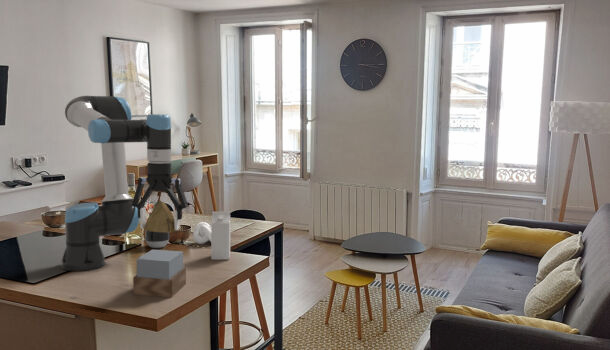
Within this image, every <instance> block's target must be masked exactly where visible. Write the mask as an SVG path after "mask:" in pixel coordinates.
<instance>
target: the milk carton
mask: <svg viewBox="0 0 610 350" xmlns="http://www.w3.org/2000/svg"><path fill="white" fill-rule="evenodd" d="M210 225H211V242H210V244H211V246H210V247H211V250H210V251H211V253H210V254H211V256H210V259H211V260H212V261H213V260H216V261H217V260H220V261H221V260H226V261H228V260H230V256H231V211H211V224H210Z"/></svg>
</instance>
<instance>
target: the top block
mask: <svg viewBox="0 0 610 350" xmlns="http://www.w3.org/2000/svg"><path fill="white" fill-rule="evenodd" d="M183 268H184V251H179V250H165V249H150V251H148V252H146V253H144V254H143V255H141V256H140V257H138V258H136V275H137V277H141V278H154V279H168V280H169V279H171V278H172V277H173V276H174V275H176V274H177V273H178V272H179V271H181V270H182V269H183Z"/></svg>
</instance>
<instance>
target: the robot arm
mask: <svg viewBox="0 0 610 350" xmlns="http://www.w3.org/2000/svg"><path fill="white" fill-rule="evenodd" d="M64 116H65V119H66V120H67V121H68V122H69V123H70V124H71V125H72V126H74V127H77V128H82V129H83V130H85V131H87V133H88V138H89V141H90V142H92V143H94V144H100V147H101V160H102V170H103V182H104V183H103V184H104V191H105V195H104V198H103V199H102V200H101V205H99V203H98V202H95V201H92V202H81V203H77V204H73V205H70V206H69V207H67V209H66V210H65V212H64V214H65V216H64V224H65V245H66V246H65V250H64V252H63V255H62V259H61V268H62V269H63V270H66V271H73V272H82V271H90V270H95V269H99V268H101V267H103V266H105V265H106V261H105V259H106V258H105V256H104V252H103V250H102V247H101V245H100V237H105V236H106V237H107V236H113V235H122V234H123V235H124V234H128V233H133V232H134V231H136V230H137V228H138V226H139V223H140V229H142V230H144V228H145V225H146V222H147V209H146V207H145V205H146V203H147V201H148V200H149V198H150V197H151V195H152V193H153V192H154V191H155V192H157V191H160V192H165V193H166V195H167V196H168V198H169V199H170V201H171V202H172V204H173V206H174V207H175V210H174V211H173V213H174V216H173V218H174V221H175V230H176V231H178V230H179V229H180V227H181V223H180V221H181V220H182V219H183V210H184V209H186V208H188V207H189V205H188V201H187V198H186V196H185V195H186V194H185V192H184V190H183V186H182V178H179V177H178V178H173V177H172V163H171V161H172V122H171V116H170V115H168V114H147V116H146V118H145V119H142V118H141V119H132V118H133V114H132V110H131V106H130V104H129V102H128V100H127V99H125V98H124V97H121V96H114V95H110V96H108V95H81V96H78V97H74V98H72V99H71V100H70V101H69V102H68V103H67V104H66V106H65V108H64ZM125 143H146V153H147V154H146V158H147V159H146V160H147V161H148V163H147V164H146V165H147V166H146V169H147V176H146V177H143V176H141V177H138V178H137V186H136V190H135V193H134V196H133V197H132V196H131V195H130V194H129V183H128V172H127V160H126V148H125ZM146 183H147V184H148V187H147V189H146V191H145V193H144V194H143V196H142V193H143V191H144V186H145V184H146ZM172 183H173V185H174V188H175V191H176V193H175V192H174V191H173V188H172V186H171V184H172ZM176 194H177V195H176ZM141 197H142V198H141Z"/></svg>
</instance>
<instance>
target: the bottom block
mask: <svg viewBox="0 0 610 350" xmlns="http://www.w3.org/2000/svg"><path fill="white" fill-rule="evenodd" d="M132 277H133V276H132ZM132 279H133V280H132V281H133V285H132V286H133V295H136V296H137V295H138V296H151V297H153V296H154V297H163V298H164V297H166V298H169V297H170V298H173V297H174V296H175V295H176V294H177V293H179V292H180V291H181V290H182V288H184V286H186V285H187V267H183V269H182V270H181V271H179V272H178V273H177V274H176V275H174V276H173V277H172V278H171V279H169V280H168V279H154V278H141V277H137V274H136V275H134V277H133V278H132Z"/></svg>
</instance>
